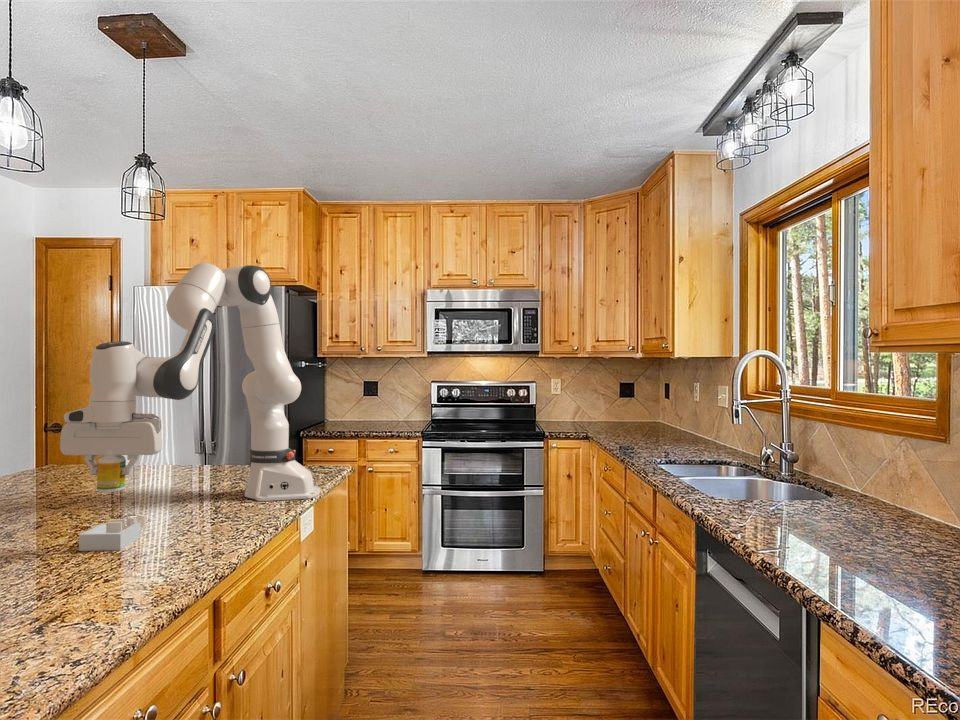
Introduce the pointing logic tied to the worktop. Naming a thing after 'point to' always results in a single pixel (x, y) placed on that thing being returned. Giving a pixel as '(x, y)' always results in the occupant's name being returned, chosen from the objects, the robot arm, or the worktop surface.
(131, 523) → the clip
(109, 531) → the grey cube
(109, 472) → the supplement bottle
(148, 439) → the robot arm
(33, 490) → the worktop surface
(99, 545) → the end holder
